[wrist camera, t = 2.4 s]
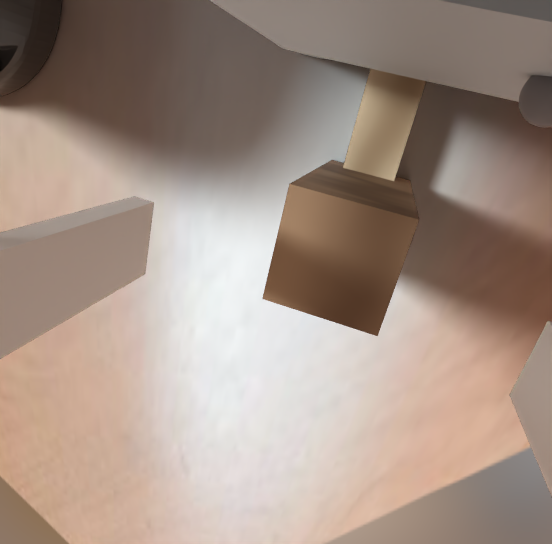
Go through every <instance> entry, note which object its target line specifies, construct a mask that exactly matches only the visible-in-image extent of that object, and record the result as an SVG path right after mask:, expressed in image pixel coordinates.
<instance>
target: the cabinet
mask: <svg viewBox="0 0 552 544" xmlns="http://www.w3.org/2000/svg"><path fill="white" fill-rule="evenodd" d="M209 1H211V2H212V3H214V4H216V5H217V6H219V7H220V8H222V9H223V10H225V11H226V12H228V13H229V14H231V15H232V16H234V17H235V18H237V19H238V20H240V21H241V22H243V23H245V24H246V25H248V26H249V27H251V28H252V29H254V30H255V31H257V32H258V33H260V34H261V35H263V36H264V37H266V38H267V39H269V40H270V41H272V42H274V43H275V44H277V45H278V46H280V47H281V48H283V49H285V50H290V51H294V52H298V53H300V54H303V55H308V56H312V57H316V58H321V59H330V60H334V61H339V62H343V63H348V64H352V65H357V66H361V67H365V68H370V69H374V70H379V71H383V72H388V73H392V74H397V75H401V76H406V77H410V78H414V79H419V80H423V81H428V82H432V83H437V84H441V85H446V86H450V87H454V88H459V89H463V90H468V91H472V92H477V93H481V94H486V95H490V96H494V97H499V98H503V99H508V100H512V101H517V102H519V110H520V112H521V114H522V116H523V117H524V119H525V120H526V121H527V122H529V123H530V124H532V125H535V126H538V127H546V128H547V127H552V0H209Z"/></svg>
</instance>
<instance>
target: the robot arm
mask: <svg viewBox="0 0 552 544" xmlns="http://www.w3.org/2000/svg"><path fill="white" fill-rule="evenodd" d="M61 1H62V0H0V96H2V95H5V94H9V93H11V92H14V91H16V90H17V89H19V88H21V87H22V86H24V85H25V84H26V83H28V82H29V81H30V80H31V79H32V78H33V77H34V76H35V75H36V74H37V73H38V71H39V70H40V69H41V67H42V66H43V64H44V63H45V61H46V59H47V57H48V55H49V53H50V51H51V49H52V46H53V44H54V41H55V38H56V34H57V30H58V26H59V21H60V13H61ZM153 206H154V202H151V201H148V200H145V199H141V198H138V197H135V196H134V197H131V198H127V199H123V200H119V201H116V202H112V203H108V204H105V205H101V206H97V207H93V208H90V209H86V210H82V211H79V212H75V213H71V214H67V215H64V216H60V217H56V218H53V219H49V220H45V221H41V222H38V223H34V224H30V225H27V226H23V227H19V228H16V229H12V230H8V231H4V232H1V233H0V359H1V358H3V357H5V356H6V355H8V354H10V353H11V352H13V351H15V350H17V349H18V348H20V347H22V346H23V345H25V344H27V343H28V342H30V341H32V340H34V339H35V338H37V337H39V336H40V335H42V334H44V333H45V332H47V331H49V330H51V329H52V328H54V327H56V326H57V325H59V324H61V323H63V322H64V321H66V320H68V319H69V318H71V317H73V316H74V315H76V314H78V313H80V312H81V311H83V310H85V309H86V308H88V307H90V306H91V305H93V304H95V303H97V302H98V301H100V300H102V299H103V298H105V297H107V296H108V295H110V294H112V293H114V292H115V291H117V290H119V289H120V288H122V287H124V286H125V285H127V284H129V283H131V282H132V281H134V280H136V279H137V278H139V277H141V276H143V275H144V274H145V271H146V263H147V255H148V247H149V239H150V231H151V223H152V214H153ZM510 397H511V400H512V402H513V405H514V407H515V409H516V412H517V414H518V417H519V419H520V422H521V424H522V426H523V429H524V431H525V434H526V436H527V438H528V441H529V443H530V446H531V448H532V451H533V453H534V455H535V458H536V460H537V463H538V465H539V468H540V470H541V472H542V475H543V477H544V479H545V482H546V484H547V487H548V489H549V492H550V494H551V496H552V322H550V321H547V323H546V325H545V327H544V329H543V331H542V333H541V335H540V337H539V339H538V341H537V342H536V344H535V346H534V348H533V350H532V352H531V354H530V356H529V358H528V360H527V362H526V364H525V366H524V368H523V370H522V371H521V373H520V375H519V377H518V379H517V381H516V383H515V385H514V387H513V389H512V391H511V393H510Z"/></svg>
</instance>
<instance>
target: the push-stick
mask: <svg viewBox="0 0 552 544" xmlns="http://www.w3.org/2000/svg"><path fill="white" fill-rule="evenodd" d="M425 84H426V81H423V80H419V79H414V78H410V77H406V76H401V75H397V74H392V73H388V72H383V71H379V70H374V69H370V72H369V76H368V79H367V83H366V86H365V90H364V94H363V97H362V101H361V104H360V108H359V111H358V115H357V119H356V122H355V126H354V129H353V133H352V137H351V140H350V144H349V147H348V151H347V155H346V158H345V162H344V163H342V162H338V161H334V160H331V161H329V162H328V163H326V164H324V165H322V166H320V167H319V168H317V169H315V170H313V171H312V172H310V173H308V174H306V175H304V176H303V177H301V178H299V179H297V180H296V181H294V182H292V183H290V184H289V188H288V193H287V197H286V201H285V205H284V210H283V214H282V218H281V222H280V227H279V231H278V235H277V239H276V243H275V248H274V252H273V256H272V260H271V265H270V269H269V273H268V277H267V282H266V286H265V290H264V294H263V298H262V299H265V300H268V301H271V302H274V303H277V304H280V305H283V306H286V307H289V308H293V309H296V310H299V311H302V312H305V313H308V314H311V315H314V316H317V317H320V318H323V319H326V320H329V321H333V322H336V323H339V324H342V325H345V326H348V327H351V328H354V329H357V330H360V331H363V332H366V333H370V334H373V335H376V336H378V333H379V330H380V328H381V325H382V322H383V319H384V317H385V314H386V311H387V308H388V305H389V303H390V300H391V297H392V294H393V291H394V289H395V286H396V283H397V280H398V278H399V275H400V272H401V269H402V266H403V264H404V261H405V258H406V255H407V252H408V250H409V247H410V244H411V241H412V238H413V236H414V233H415V230H416V227H417V225H418V222H419V217H418V212H417V208H416V204H415V199H414V195H413V190H412V186H411V182H410V180H407V179H403V178H399V177H395V176H396V173H397V170H398V167H399V164H400V161H401V158H402V155H403V152H404V149H405V146H406V143H407V139H408V136H409V133H410V130H411V127H412V124H413V121H414V118H415V115H416V112H417V109H418V106H419V103H420V100H421V96H422V93H423V90H424V87H425Z"/></svg>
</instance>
